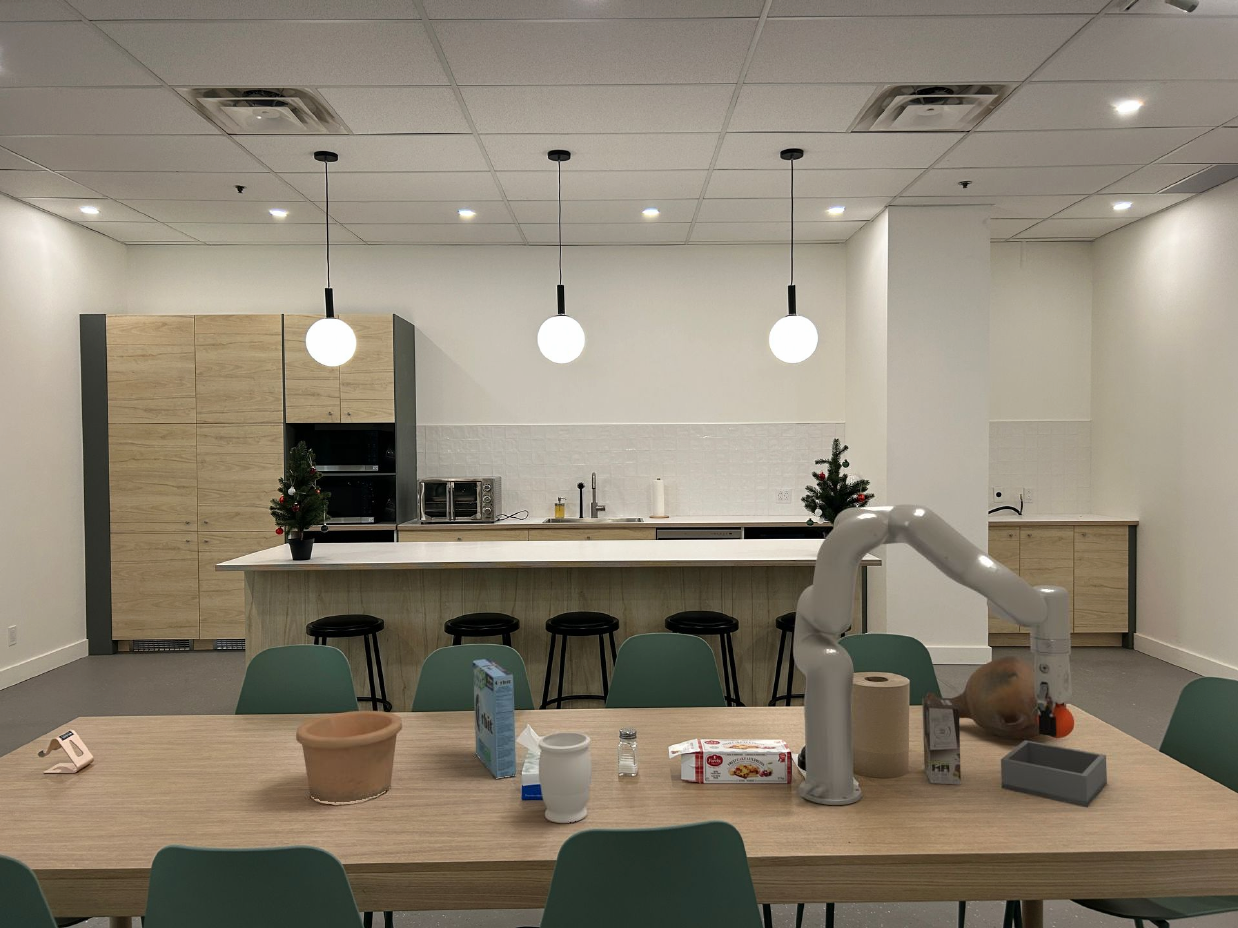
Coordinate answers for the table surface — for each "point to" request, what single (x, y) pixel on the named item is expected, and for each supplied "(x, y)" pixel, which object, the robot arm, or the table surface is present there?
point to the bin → (1054, 772)
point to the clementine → (1062, 721)
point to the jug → (1001, 699)
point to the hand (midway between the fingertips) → (1053, 729)
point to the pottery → (349, 754)
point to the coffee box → (941, 740)
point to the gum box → (494, 717)
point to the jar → (565, 775)
